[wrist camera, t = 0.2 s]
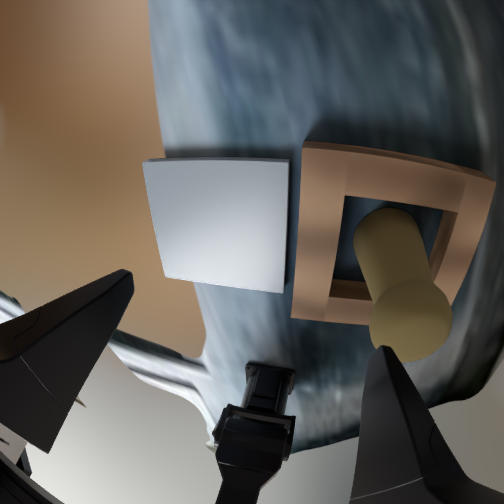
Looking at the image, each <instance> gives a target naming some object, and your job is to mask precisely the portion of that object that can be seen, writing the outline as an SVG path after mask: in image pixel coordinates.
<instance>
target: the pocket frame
mask: <svg viewBox="0 0 504 504" xmlns="http://www.w3.org/2000/svg"><path fill="white" fill-rule="evenodd" d="M495 186H496V182H495V181H494V180H493V179H491V178H490V177H488V176H487V175H486V174H484V173H483V172H481V171H478V170H474V169H471V168H467V167H463V166H459V165H456V164H452V163H448V162H443V161H439V160H435V159H430V158H426V157H421V156H416V155H411V154H405V153H400V152H394V151H388V150H382V149H376V148H369V147H361V146H354V145H345V144H336V143H326V142H314V141H304V142H303V146H302V165H301V188H300V208H299V225H298V240H297V254H296V266H295V279H294V290H293V301H292V311H291V318H298V319H307V320H316V321H326V322H337V323H348V324H360V325H369V321H370V317H371V312H372V308H373V306H374V304H373V301H372V298H371V295H370V292H369V289H368V286H367V284H366V282H358V281H348V280H338V279H332V276H333V270H334V265H335V259H336V253H337V247H338V240H339V234H340V227H341V220H342V212H343V204H344V196H345V195H347V196H356V197H364V198H372V199H379V200H387V201H394V202H400V203H407V204H413V205H420V206H426V207H431V208H437V209H443V214H442V218H441V221H440V225H439V228H438V232H437V235H436V238H435V241H434V245H433V248H432V251H431V254H430V257H429V260H428V262H429V266H430V270H431V274H432V279H433V283H434V284H435V285H436V286H437V287H439V288H440V289H441V290H442V291H443V293H444V294H445V295H446V297H447V299H448V301H449V304H450V306H451V304H452V303H453V301H454V299H455V296H456V294H457V292H458V290H459V288H460V286H461V284H462V282H463V279H464V277H465V275H466V273H467V270H468V268H469V266H470V263H471V261H472V258H473V256H474V253H475V251H476V248H477V245H478V242H479V240H480V237H481V234H482V231H483V228H484V225H485V222H486V219H487V216H488V212H489V209H490V205H491V202H492V198H493V194H494V190H495Z"/></svg>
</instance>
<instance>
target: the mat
mask: <svg viewBox="0 0 504 504" xmlns="http://www.w3.org/2000/svg"><path fill="white" fill-rule="evenodd" d="M142 165H143V171H144V177H145V183H146V189H147V195H148V200H149V205H150V211H151V215H152V220H153V225H154V230H155V235H156V239H157V243H158V248H159V252H160V257H161V261H162V265H163V269H164V273H165V277H169V278H175V279H182V280H189V281H194V282H201V283H208V284H215V285H222V286H229V287H237V288H244V289H252V290H260V291H268V292H276V293H283V291H284V286H285V270H286V251H287V230H288V205H289V172H290V159H274V158H248V157H186V158H163V159H162V158H160V159H148V160H146V161H144V162H143V163H142Z"/></svg>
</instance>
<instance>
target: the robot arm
mask: <svg viewBox="0 0 504 504" xmlns="http://www.w3.org/2000/svg"><path fill="white" fill-rule="evenodd" d="M133 294H134V281H133V274H132V272H130V271H128V270H125V269H120V270H118V271H115V272H113V273H111V274H109V275H106V276H104V277H102V278H100V279H98V280H95V281H93V282H91V283H89V284H87V285H85V286H83V287H80V288H78V289H76V290H74V291H72V292H70V293H67V294H65V295H63V296H61V297H59V298H57V299H55V300H53V301H51V302H49V303H47V304H45V305H43V306H40V307H38V308H36V309H34V310H32V311H30V312H28V313H26V314H24V315H21V316H19V317H16V318H14V319H12V320H9V321H6V322H4V323H1V324H0V504H64V503H63V502H61V501H60V500H58V499H57V498H55V497H54V496H53V495H51V494H50V493H49V492H47V491H46V490H45V489H43V488H42V487H41V486H40V485H38V484H37V483H36V482H35V481H33V480H32V479H31V478H30V476H31V474H32V471H31V468H30V464H29V461H28V457H27V453H26V449H25V446H26V444H27V442H29V443H30V444H32V445H33V446H35V447H36V448H38V449H40V450H42V451H43V452H45V453H47V454H48V453H49V451H50V450H51V448H52V446H53V443H54V441H55V439H56V437H57V435H58V433H59V431H60V429H61V427H62V425H63V423H64V421H65V419H66V417H67V415H68V412H69V411H70V409H71V407H72V405H73V403H74V401H75V399H76V397H77V396H78V394H79V392H80V390H81V388H82V386H83V385H84V383H85V381H86V379H87V377H88V376H89V374H90V372H91V370H92V369H93V367H94V365H95V363H96V362H97V360H98V358H99V357H100V355H101V353H102V351H103V350H104V348H105V347H106V345H107V343H108V342H109V340H110V338H111V337H112V335H113V333H114V332H115V330H116V328H117V326H118V324H119V322H120V320H121V318H122V316H123V314H124V312H125V310H126V308H127V306H128V304H129V302H130V300H131V298H132V296H133ZM245 370H246V382H247V386H246V389H245V393H244V396H243V400H242V403H241V406H240V407H238V406H234V405H232V404H228V405H227V408H224V409H223V412H222V415H221V417H220V419H219V421H218V423H217V425H216V426H215V428H214V430H213V432H212V435H213V437H214V447H217V450H216V454H215V455H216V460H217V463H218V466H219V469H220V472H221V476H222V479H223V481H222V485H221V488H220V491H219V494H218V497H217V500H216V503H215V504H256V503H257V499H258V496H259V491H260V490H261V489H262V488H263V487H264V486H265V485H266V484H267V483H268V482H269V481H271V480H272V479H273V478H274V477H275V476H276V474H277V472H278V471H279V470H280V468H281V465H282V461H287V460H288V458H289V455H290V451H291V447H292V442H293V435H294V427H295V419H296V416H287V415H284V414H285V409H286V403H287V398H288V395H290V394H291V392H292V387H293V381H294V376H295V371H294V370H290V369H282V368H275V367H268V366H262V365H255V364H249V363H248V364H246V367H245ZM349 504H504V493H501V492H499V491H496V490H493V489H491V488H489V487H486V486H484V485H482V484H479V483H476V482H475V481H473V480H471V479H470V478H469V477H468V476H466V474H465V473H464V471H463V469H462V468H461V466H460V465H459V463H458V461H457V460H456V458H455V456H454V455H453V453H452V452H451V450H450V448H449V447H448V445H447V443H446V442H445V440H444V438H443V436H442V434H441V433H440V431H439V429H438V427H437V425H436V423H434V419H433V418H432V416H431V414H430V412H429V410H428V408H427V407H426V405H425V403H424V401H423V399H422V398H421V396H420V394H419V392H418V391H417V389H416V387H415V385H414V384H413V382H412V380H411V378H410V377H409V375H408V373H407V372H406V370H405V368H404V367H403V365H402V363H401V362H400V360H399V358H398V357H397V355H396V353H395V352H394V350H393V349H392V347H390V346H386V345H380V346H379V347H378V348H377V349H376V351H375V352H374V353H373V354H372V356H371V357H370V358H369V361H368V365H367V372H366V379H365V386H364V392H363V398H362V409H361V423H360V434H359V443H358V452H357V460H356V467H355V474H354V481H353V487H352V492H351V497H350V502H349Z"/></svg>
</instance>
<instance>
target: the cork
mask: <svg viewBox="0 0 504 504" xmlns="http://www.w3.org/2000/svg"><path fill="white" fill-rule="evenodd" d="M353 248H354V251H355V255H356V257H357V260H358V262H359V265H360V268H361V270H362V273H363V276H364V278H365V281H366V284H367V286H368V289H369V292H370V295H371V298H372V301H373V304H374V306H373V308H372V312H371V317H370V321H369V331H370V336H371V340H372V343H373V345H374V347H375V348H376V349H377V348H378V347H379V346H380V345H386V346H390V347H392V349H393V350H394V352H395V353H396V355H397V357H398V358H399V360H400V362H412V361H416V360H420V359H422V358H425V357H427V356H429V355H431V354H432V353H434V352H435V351H436V350H438V349H439V348H440V347H441V346H442V345H443V344H444V343H445V341H446V339H447V337H448V336H449V333H450V330H451V327H452V309H451V307H450V304H449V301H448V299H447V297H446V295H445V294H444V293H443V291H442V290H441V289H440V288H439V287H437V286H436V285H435V284H434V283H433V279H432V274H431V270H430V266H429V262H428V258H427V255H426V251H425V247H424V244H423V240H422V237H421V234H420V230H419V227H418V225H417V223H416V222H415V220H414V218H413V217H411V216H410V215H409V214H408V213H407V212H405V211H402V210H400V209H397V208H383V209H379V210H375V211H373V212H372V213H370V214H369V215H367V216H365V217H364V219H363V220H362V221H361V222H360V223H359V224H358V226H357V228H356V230H355V233H354V235H353Z"/></svg>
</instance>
